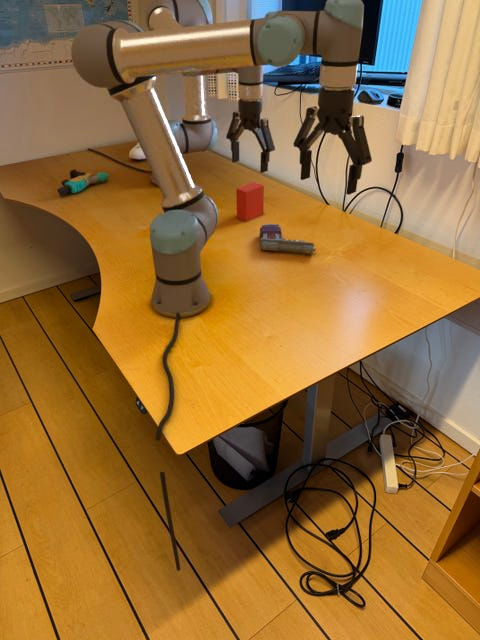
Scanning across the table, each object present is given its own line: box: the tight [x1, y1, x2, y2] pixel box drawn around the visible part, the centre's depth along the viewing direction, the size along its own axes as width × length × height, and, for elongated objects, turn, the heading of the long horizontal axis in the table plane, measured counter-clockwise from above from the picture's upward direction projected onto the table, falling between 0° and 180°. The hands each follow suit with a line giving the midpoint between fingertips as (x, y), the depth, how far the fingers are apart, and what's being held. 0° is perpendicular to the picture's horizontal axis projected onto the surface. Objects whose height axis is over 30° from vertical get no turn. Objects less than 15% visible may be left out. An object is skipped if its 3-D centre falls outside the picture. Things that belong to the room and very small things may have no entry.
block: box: [235, 181, 265, 222], centre depth 167 cm, size 5×9×11 cm, turn 134°
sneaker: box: [128, 142, 147, 161], centre depth 226 cm, size 10×29×12 cm, turn 163°
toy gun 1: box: [57, 168, 110, 197], centre depth 194 cm, size 4×26×15 cm
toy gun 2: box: [259, 223, 317, 255], centre depth 150 cm, size 4×19×15 cm
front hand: (327, 185), depth 112 cm, fingers open, 13 cm apart
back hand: (249, 166), depth 160 cm, fingers open, 13 cm apart
